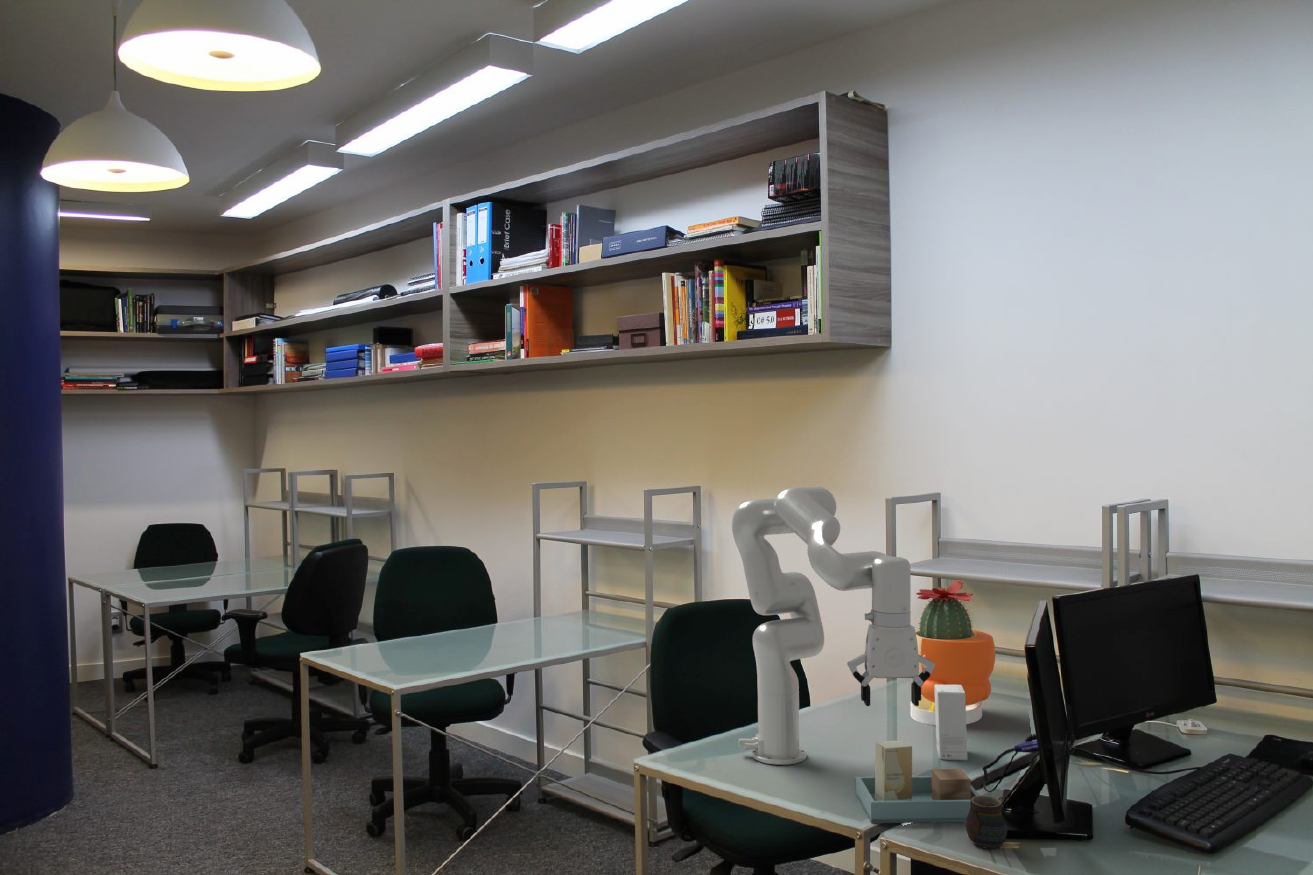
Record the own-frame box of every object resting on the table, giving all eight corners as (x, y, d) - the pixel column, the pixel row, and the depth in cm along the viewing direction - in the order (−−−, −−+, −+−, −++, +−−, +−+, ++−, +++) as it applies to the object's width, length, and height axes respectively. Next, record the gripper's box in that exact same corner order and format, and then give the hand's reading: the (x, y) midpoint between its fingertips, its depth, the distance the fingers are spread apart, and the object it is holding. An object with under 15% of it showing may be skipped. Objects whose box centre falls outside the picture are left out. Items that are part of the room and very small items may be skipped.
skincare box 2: (967, 761, 221) (966, 693, 221) (937, 759, 222) (936, 691, 222) (963, 749, 229) (962, 683, 229) (934, 748, 230) (933, 682, 230)
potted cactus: (895, 716, 256) (893, 584, 256) (941, 700, 271) (939, 575, 271) (969, 734, 240) (968, 593, 240) (1014, 716, 255) (1012, 583, 255)
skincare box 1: (884, 810, 191) (883, 748, 191) (874, 802, 195) (873, 741, 195) (914, 806, 193) (913, 745, 193) (903, 798, 197) (902, 738, 197)
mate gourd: (1000, 835, 180) (1000, 782, 180) (1013, 853, 173) (1013, 797, 173) (961, 835, 181) (961, 782, 181) (973, 852, 173) (972, 797, 173)
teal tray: (871, 823, 187) (870, 802, 187) (856, 795, 201) (856, 776, 201) (985, 821, 187) (985, 801, 187) (962, 794, 201) (962, 775, 201)
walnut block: (940, 809, 191) (940, 779, 191) (931, 798, 197) (931, 768, 197) (970, 809, 191) (970, 779, 191) (961, 798, 197) (961, 768, 197)
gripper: (851, 623, 190) (851, 709, 190) (939, 623, 190) (939, 709, 190) (844, 615, 197) (844, 698, 198) (929, 615, 197) (929, 698, 198)
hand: (890, 704), depth 194 cm, fingers open, 9 cm apart
